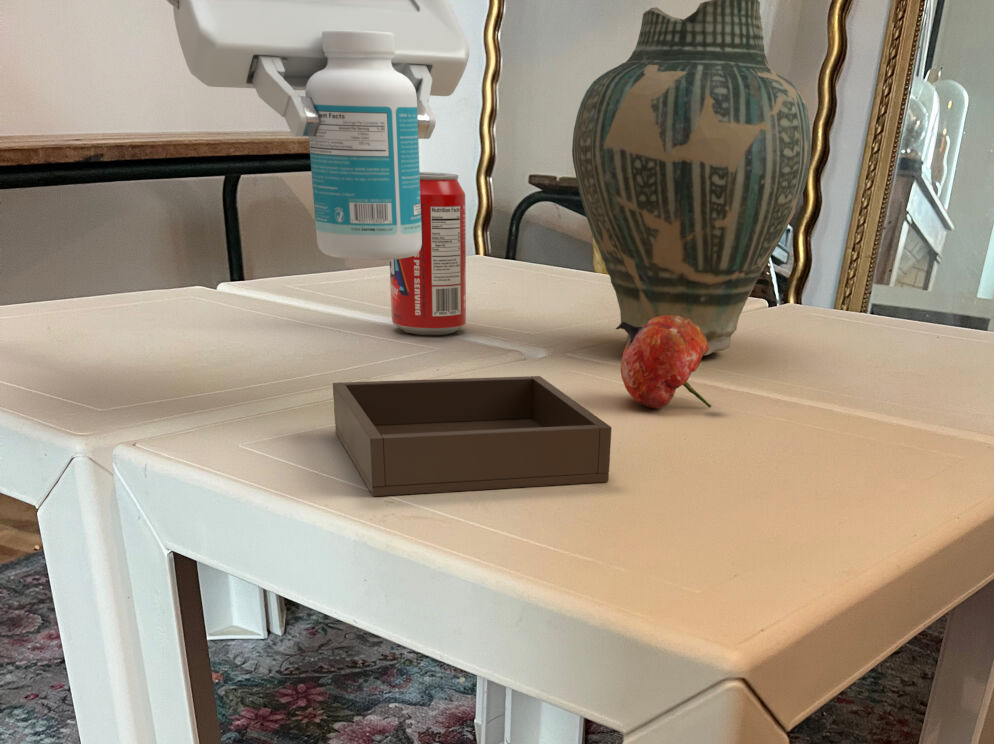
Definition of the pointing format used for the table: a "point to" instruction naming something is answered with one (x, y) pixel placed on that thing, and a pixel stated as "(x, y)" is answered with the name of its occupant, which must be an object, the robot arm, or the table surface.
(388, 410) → the holder
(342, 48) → the pill bottle
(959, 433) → the table surface
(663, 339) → the red lumpy rounded piece
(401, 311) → the soda can
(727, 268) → the vase
